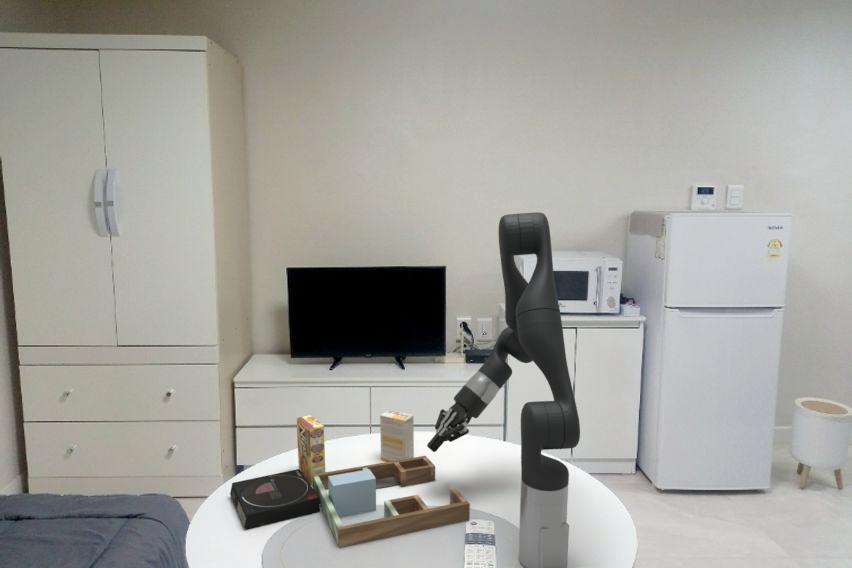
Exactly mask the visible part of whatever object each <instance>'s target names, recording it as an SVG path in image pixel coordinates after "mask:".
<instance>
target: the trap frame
mask: <svg viewBox="0 0 852 568" xmlns="http://www.w3.org/2000/svg"><path fill="white" fill-rule="evenodd" d="M368 469H370V471H371V472H372V474H373V475H374V476H375V478H376V490H380V489H385V488H392V487H395V486H396V487H397V486H399V487H400V488H405V487H410V486H415V485H421V484H425V483H426V484H427V483H431V482H436V466H435V464H434V463H433V462H432V461H431V460H430V459H429V458H428V457H427V455H421V456H414V458H408V459H402V460H396V461H390V462H388V461H384V462H379V463H373V464H367V465H362V466H355V467H349V468H343V469H338V470H332V471H327V472H326V471H325V473H319V474H313V486H312V488H313V489H314V491H315V492H316V493H317V495H318V496H319V498H320V510H322V513H323V515H324V516H325V520H326V521H327V524H328V526H329V529H330V530H331V533H332V534H333V536H334V539H335V541H336V543H337V546H338V548H339V549H340V548H344V547H345V548H346V547H349V546H353V545H359V544H364V543H368V542H373V541H378V540H382V539H383V540H384V539H386V538H387V539H388V538H390V537H397V536H401V535H405V534H410V533H415V532H419V531H424V530H428V529H433V528H438V527H443V526H447V525H451V524H456V523H462V522H467V521H469V520H470V510H471V508H470V507H471V505H470V502H469V501H468V500H467V499H466V498H465V496H463V495H462V493H461V492H459V490H458V489H457V488H456V487H451V488H450V489H449V490H450V491H449V504H445V505H440V506H435V507H431V508H429V507H428V506H427V504H426V503H425V502H424V500H423V498H421V497H420V495H419V494H413V495H408V496H404V497H397V498H393V499H388V500H384V501H383V517H381V518H376V519H375V518H374V519H372V520H367V521H361V522H356V523H351V524H345V525H343V523H342V521H341V519H340V518H341V517H340V518H339V516H338V514H337V512H336V510H335V508H334V506H333V504H332V502H331V500H330V498H329V496H328V492H327V491H328V476H333V475H339V474H344V473H350V472H356V471H362V470H368ZM326 490H327V491H326ZM466 520H467V521H466Z"/></svg>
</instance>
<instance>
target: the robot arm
mask: <svg viewBox="0 0 852 568" xmlns="http://www.w3.org/2000/svg"><path fill="white" fill-rule="evenodd" d="M551 240H552V239H551V229H550V223H549V220H548V218H547V216H546V214H545V213H543V212H521V213H510V214H505V215H502V216H501V217H500V219H499V223H498V245H499V246H498V248H499V255H500V265H501V272H502V273H501V274H502V279H503V285H504V286H503V287H504V296H505V298H504V299H505V302H504V303H505V304H504V305H505V306H504V308H505V310H504V311H505V313H504V314H505V315H504V319H505V323H506V326H507V327H505V328H504V329H502V331H501V332H500V334H499V335H498V338H497V339H496V342H495V344H494V345H493V348H492V351H490V354H489V356H488V358H487V359H486V360H485V362H484V363H483V364H481V366H480V367H479V369H478V371H476V372H475V373H474V374H473V375H472V376H470V378H469V379H468V380H467V381H466V383H465V384H464V385H463V386H462V388H461V389H460V390H459V391H458V392H457V393H456V394H455V395H454V397H453V400H454V402H455V403H454V404H453V405H451V406H450V407H449V409H448V410H445V409H443V408H442V409H440V412H439V414H438V418H437V420H436V423H435V426H434V429H435V435H434V436H433V437H432V438H431V439H430V440H429V441H428V443H427V444H426V447H427V448H428V449H429V450H431V452H433V453H436V452H437V451H438V449H439V448H441V446H442V445H443V443H445V442H448V441H449V442H450V443H452V442H454V441H456V440H459V438H462V437H464V436H466V435H467V434H469V432H470V430H469V429H468V424H470V422H471V420H472V418H474V419H477V418H479V417H480V416H481V415H482V413H483V411H485V410H486V409H487V407H488V406H489V405H490V403H491V402H492V401H493V400H494V398H495V397H496V396H497V394H498V393H499V391H500V390H501V388H503V386H504V385H505V384H506V383H507V382H508V380H509V379H510V378H511V376H512V374H513V370H512V368H511V365H509V364H508V363H507V357H508V355H510V356H511V357H513V358H514V359H516V360H517V361H518V362H520V363H524V364H528V363H529V364H530V363H532V362H533V363H534V364H535V365H536V366H537V368H538V369H539V370H540V371H541V372H542V375H543V376H544V378H545V379H546V381H547V382H548V385H549V387H550V390H551V394H552V397H553V400H544V401H540V400H539V401H527V402H526V403H524V404H523V405H522V407H521V408H522V409H521V414H520V447H521V449H520V451H521V452H520V464H521V465H520V466H521V469H520V470H521V472H520V473H521V474H520V476H521V477H520V481H521V482H520V498H519V499H520V504H519V527H518V528H519V532H518V533H519V535H518V561H519V563H520V564H521V565H522V566H523V567H525V568H568V557H569V535H570V525H569V523H568V522H567V521H568V499H569V498H568V497H569V480H570V479H569V477H570V473H569V469H568V467H567V466H566V464H564V463H563V462H562V461H560V460H558V459H555V458H554V457H550V456H546V455H544V454H543V453H542V451H546V450H568V449H574V448H576V447H577V446H578V444H579V442H580V438H581V426H580V425H581V423H580V418H579V412H578V407H577V403H576V399H575V394H574V390H573V385H572V382H571V376H570V371H569V365H568V361H567V355H566V353H567V352H566V345H565V339H564V328H563V323H562V316H561V315H562V314H561V309H560V303H559V298H558V293H557V287H556V282H555V274H554V267H553V266H554V263H553V253H552V241H551ZM527 255H536V263H535V267H534V269H533V272H532V275H531V278H530V280H529V281H527V280H526V279H525V277H524V276H523V274H522V273H521V271H520V270H519V268H518V267H517V264H516V262H515V256H527Z"/></svg>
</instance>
